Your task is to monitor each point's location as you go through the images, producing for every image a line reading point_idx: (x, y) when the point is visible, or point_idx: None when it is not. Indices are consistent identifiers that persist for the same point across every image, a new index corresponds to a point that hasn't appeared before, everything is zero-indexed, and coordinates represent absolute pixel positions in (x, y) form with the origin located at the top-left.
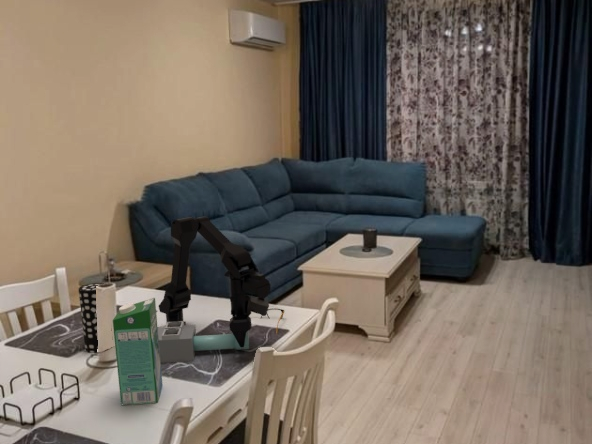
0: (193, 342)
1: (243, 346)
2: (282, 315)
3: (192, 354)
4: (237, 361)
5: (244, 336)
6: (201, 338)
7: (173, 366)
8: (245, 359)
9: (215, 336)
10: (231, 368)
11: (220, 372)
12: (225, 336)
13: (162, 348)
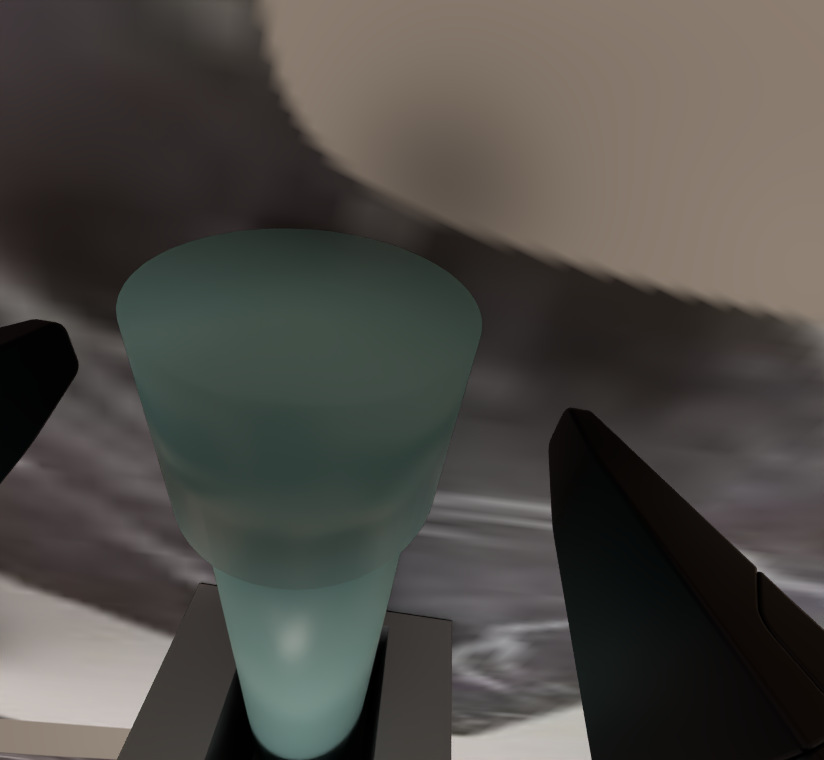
0: (353, 728)
1: (593, 422)
2: None
3: (451, 673)
4: (642, 405)
5: (798, 635)
6: (327, 732)
7: (487, 675)
8: (645, 322)
9: (313, 689)
10: (767, 472)
11: (771, 542)
12: (326, 633)
13: None
